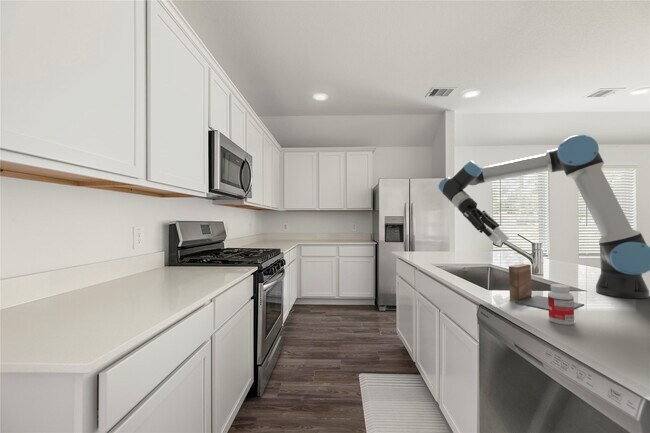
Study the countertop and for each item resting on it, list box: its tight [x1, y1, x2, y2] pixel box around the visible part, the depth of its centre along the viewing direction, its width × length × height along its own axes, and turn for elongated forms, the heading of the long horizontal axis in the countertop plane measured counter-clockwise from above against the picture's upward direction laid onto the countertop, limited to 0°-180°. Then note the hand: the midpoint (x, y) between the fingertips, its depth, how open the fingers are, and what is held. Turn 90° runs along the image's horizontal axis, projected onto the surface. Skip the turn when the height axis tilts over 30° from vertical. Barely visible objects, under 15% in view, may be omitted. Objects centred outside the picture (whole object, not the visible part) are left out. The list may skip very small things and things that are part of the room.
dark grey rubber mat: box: [514, 295, 585, 311], centre depth 109 cm, size 15×16×1 cm
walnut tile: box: [508, 263, 533, 302], centre depth 117 cm, size 3×10×13 cm, turn 120°
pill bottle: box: [547, 283, 575, 326], centre depth 91 cm, size 6×6×11 cm
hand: (501, 240), depth 123 cm, fingers open, 6 cm apart
